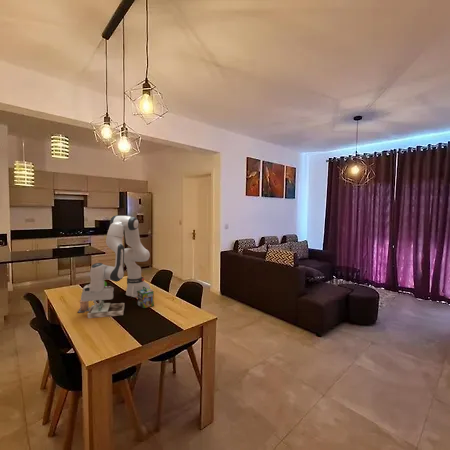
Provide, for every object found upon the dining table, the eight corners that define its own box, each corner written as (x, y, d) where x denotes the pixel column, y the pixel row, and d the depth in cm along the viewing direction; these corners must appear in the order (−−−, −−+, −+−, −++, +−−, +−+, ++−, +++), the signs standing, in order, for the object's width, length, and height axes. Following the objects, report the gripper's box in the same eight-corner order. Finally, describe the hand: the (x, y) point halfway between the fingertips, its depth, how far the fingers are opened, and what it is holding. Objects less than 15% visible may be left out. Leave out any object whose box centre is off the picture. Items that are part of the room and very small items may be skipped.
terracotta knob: (89, 307, 193) (89, 298, 193) (88, 310, 188) (88, 301, 187) (80, 308, 191) (80, 299, 191) (79, 311, 186) (78, 302, 185)
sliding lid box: (124, 307, 197) (124, 302, 197) (123, 315, 183) (122, 311, 182) (92, 310, 190) (91, 305, 190) (87, 319, 176) (87, 314, 176)
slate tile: (90, 308, 194) (90, 307, 194) (88, 312, 187) (88, 311, 187) (80, 309, 192) (80, 308, 192) (77, 312, 185) (77, 312, 185)
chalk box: (154, 305, 202) (154, 287, 200) (142, 309, 195) (142, 289, 194) (148, 302, 208) (148, 284, 207) (137, 305, 202) (137, 286, 201)
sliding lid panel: (110, 303, 194) (110, 299, 193) (107, 311, 180) (107, 307, 179) (94, 304, 191) (94, 300, 190) (90, 313, 177) (90, 308, 176)
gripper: (114, 284, 189) (114, 303, 190) (82, 286, 183) (82, 305, 185) (113, 287, 183) (113, 306, 184) (80, 289, 177) (80, 309, 179)
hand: (97, 306), depth 184 cm, fingers closed
